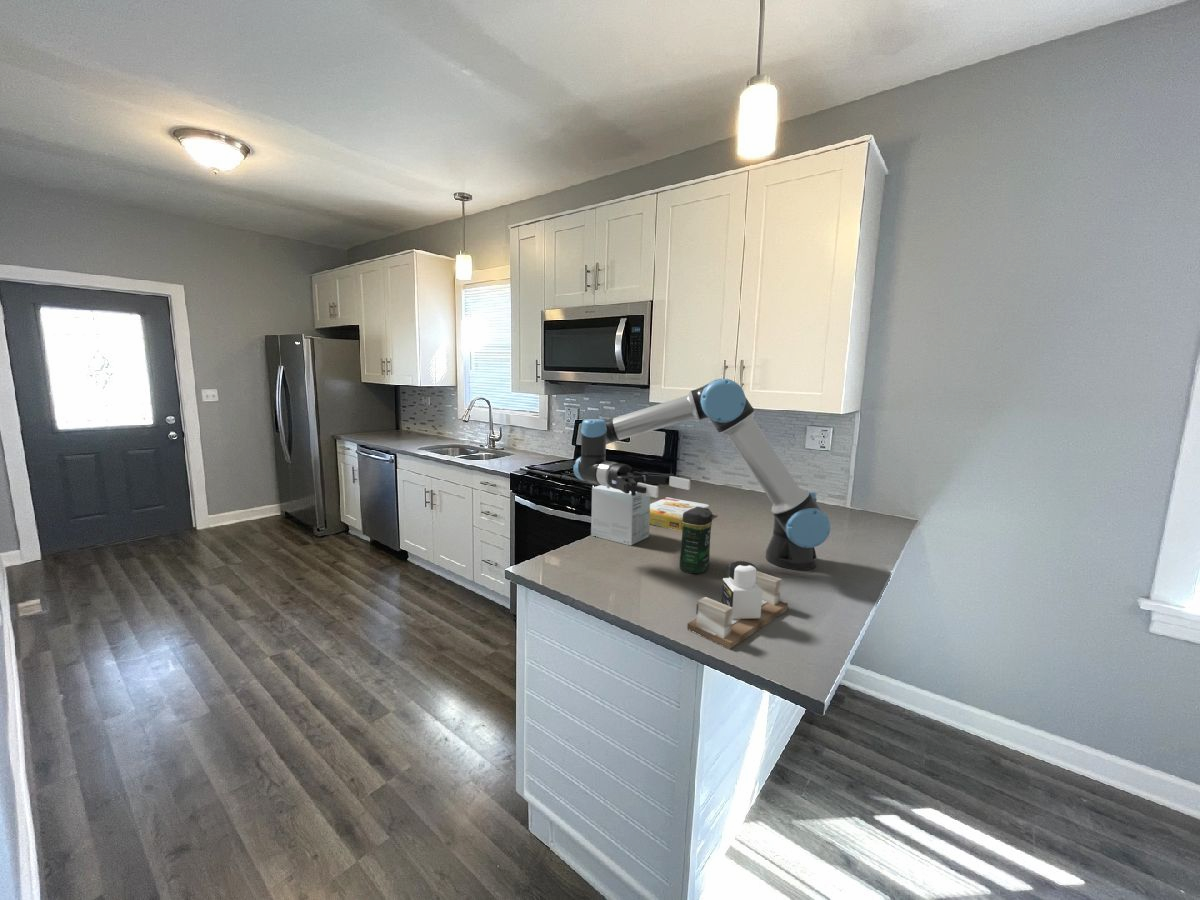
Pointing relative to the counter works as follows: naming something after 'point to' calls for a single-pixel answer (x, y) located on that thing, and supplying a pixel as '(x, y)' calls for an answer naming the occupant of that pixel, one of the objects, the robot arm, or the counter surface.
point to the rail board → (729, 632)
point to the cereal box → (671, 512)
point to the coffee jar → (695, 540)
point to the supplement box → (619, 515)
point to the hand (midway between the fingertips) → (674, 488)
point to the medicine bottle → (742, 591)
